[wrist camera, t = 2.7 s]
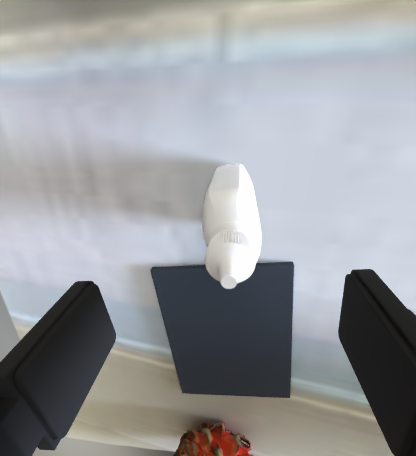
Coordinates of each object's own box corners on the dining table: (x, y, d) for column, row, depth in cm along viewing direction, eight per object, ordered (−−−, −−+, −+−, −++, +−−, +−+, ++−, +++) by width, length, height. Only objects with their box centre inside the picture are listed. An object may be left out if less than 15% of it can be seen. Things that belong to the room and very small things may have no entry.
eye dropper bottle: (201, 216, 22) (165, 313, 12) (220, 155, 20) (197, 207, 9) (246, 230, 23) (253, 340, 12) (271, 172, 20) (307, 243, 9)
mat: (152, 267, 26) (150, 270, 25) (292, 261, 23) (294, 265, 23) (183, 388, 34) (182, 393, 33) (289, 393, 32) (290, 398, 31)
